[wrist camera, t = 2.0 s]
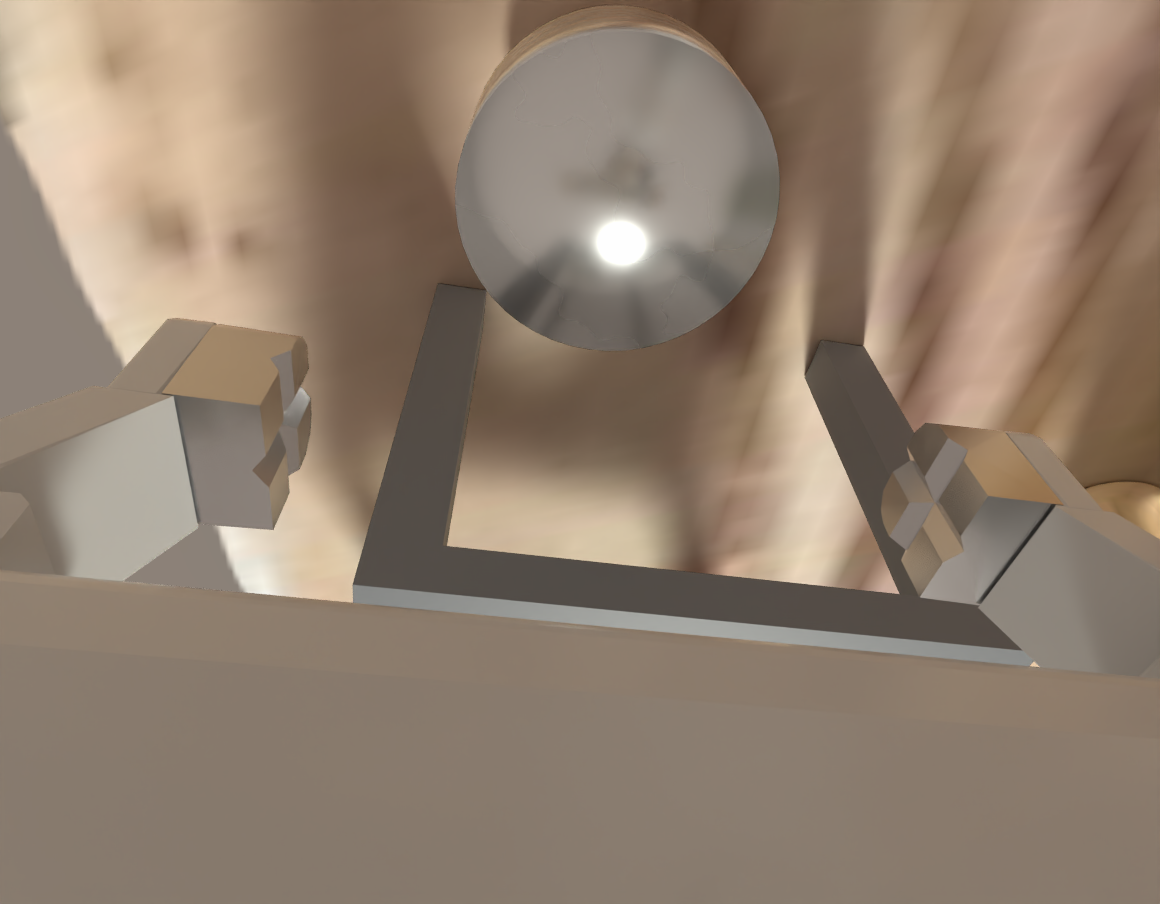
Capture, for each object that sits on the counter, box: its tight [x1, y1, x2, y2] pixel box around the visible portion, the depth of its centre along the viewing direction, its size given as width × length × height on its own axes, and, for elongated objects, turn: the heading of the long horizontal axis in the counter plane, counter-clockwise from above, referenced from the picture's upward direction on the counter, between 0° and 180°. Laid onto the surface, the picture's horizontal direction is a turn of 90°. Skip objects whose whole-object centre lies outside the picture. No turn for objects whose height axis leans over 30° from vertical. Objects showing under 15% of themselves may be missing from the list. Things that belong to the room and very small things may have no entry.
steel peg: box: [455, 5, 780, 351], centre depth 17 cm, size 6×6×8 cm
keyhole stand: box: [353, 283, 1033, 666], centre depth 25 cm, size 18×14×12 cm
